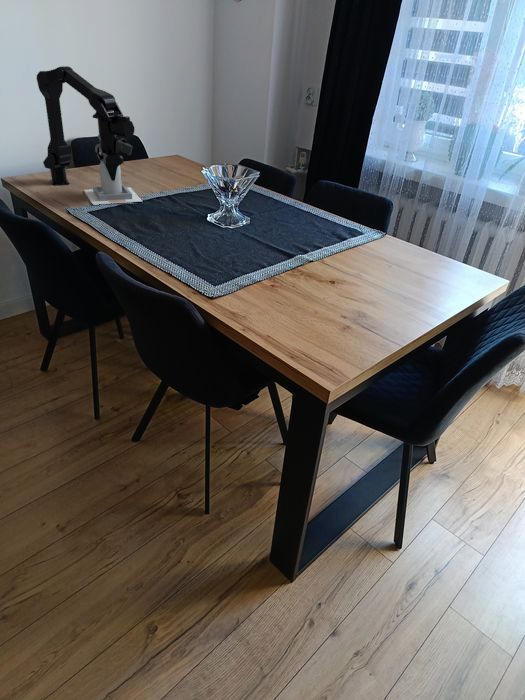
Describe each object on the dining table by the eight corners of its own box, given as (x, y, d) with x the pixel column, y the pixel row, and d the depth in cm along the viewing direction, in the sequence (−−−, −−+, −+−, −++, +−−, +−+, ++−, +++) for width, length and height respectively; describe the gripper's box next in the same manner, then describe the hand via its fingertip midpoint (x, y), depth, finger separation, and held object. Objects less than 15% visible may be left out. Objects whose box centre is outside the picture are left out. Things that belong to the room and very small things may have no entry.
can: (124, 191, 192) (122, 159, 185) (118, 197, 186) (115, 163, 179) (105, 189, 192) (103, 157, 186) (98, 194, 186) (95, 161, 179)
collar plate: (84, 191, 193) (83, 184, 191) (130, 188, 200) (129, 182, 199) (93, 205, 180) (92, 198, 178) (142, 202, 187) (142, 195, 186)
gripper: (136, 138, 174) (138, 183, 183) (123, 127, 187) (126, 170, 196) (104, 139, 169) (108, 185, 178) (93, 127, 183) (97, 171, 191)
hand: (110, 177), depth 186 cm, fingers closed on can, 7 cm apart
